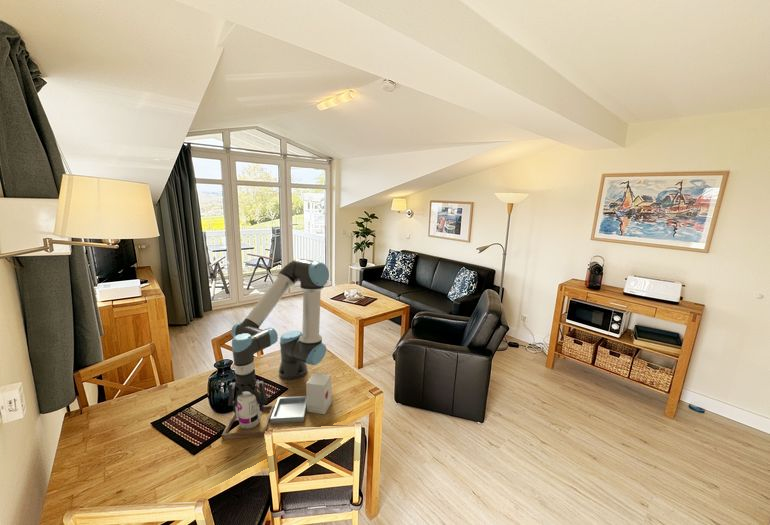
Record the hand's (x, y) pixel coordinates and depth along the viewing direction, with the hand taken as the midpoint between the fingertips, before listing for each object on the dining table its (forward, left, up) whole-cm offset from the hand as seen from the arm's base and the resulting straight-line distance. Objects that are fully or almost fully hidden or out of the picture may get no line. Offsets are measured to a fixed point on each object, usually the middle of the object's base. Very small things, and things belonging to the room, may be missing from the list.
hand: (249, 417), depth 132 cm
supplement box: (-8, +29, -3) cm, 30 cm away
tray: (-6, +16, -3) cm, 17 cm away
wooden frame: (0, 0, -3) cm, 3 cm away
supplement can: (0, 0, -3) cm, 3 cm away
